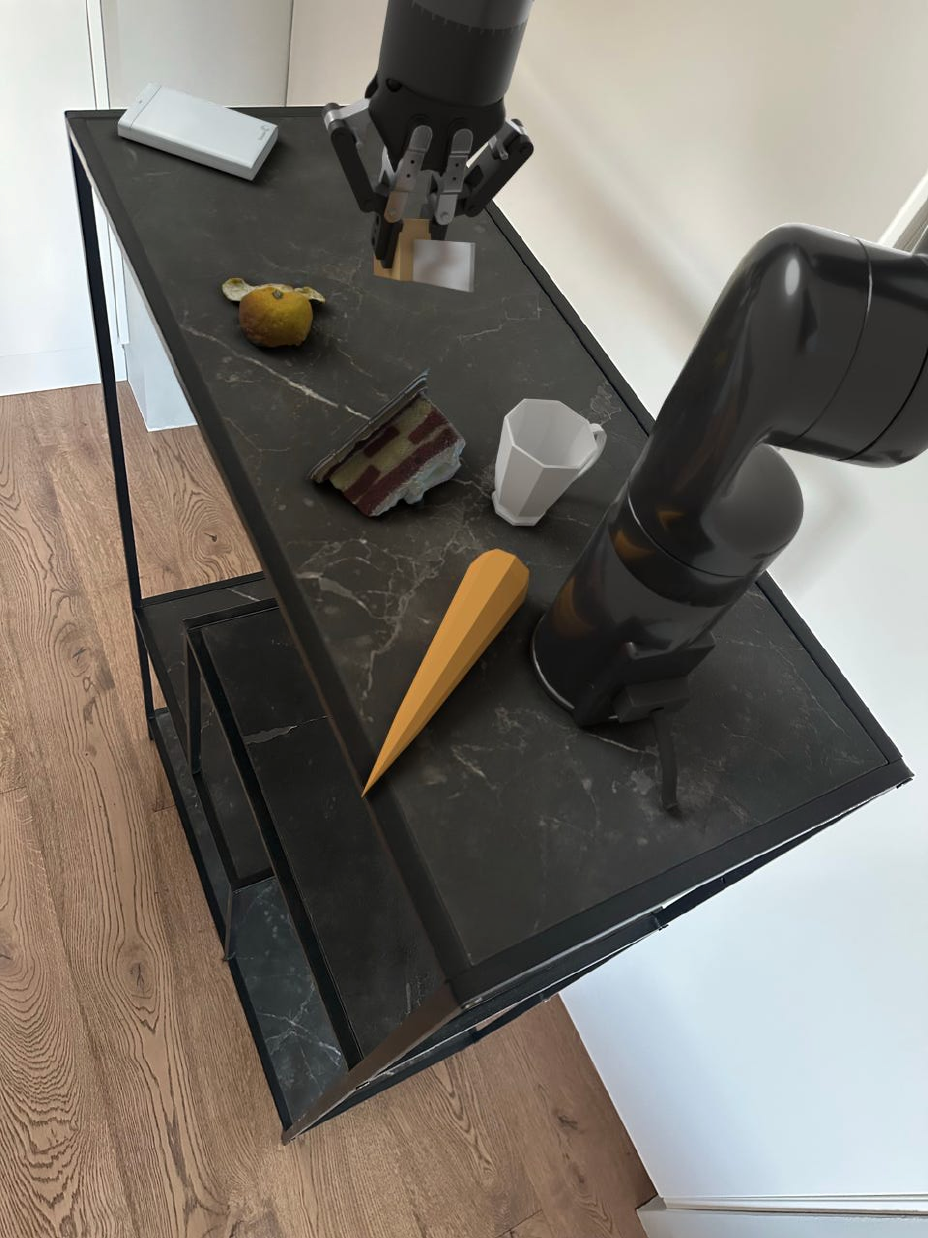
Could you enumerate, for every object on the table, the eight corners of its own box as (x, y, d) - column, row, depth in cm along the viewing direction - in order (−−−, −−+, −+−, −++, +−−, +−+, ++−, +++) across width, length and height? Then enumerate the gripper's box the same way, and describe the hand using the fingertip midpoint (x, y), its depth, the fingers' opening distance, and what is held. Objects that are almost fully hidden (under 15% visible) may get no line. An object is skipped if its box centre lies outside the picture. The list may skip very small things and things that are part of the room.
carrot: (526, 541, 61) (547, 587, 64) (472, 536, 63) (494, 581, 66) (372, 786, 51) (405, 827, 54) (316, 768, 53) (350, 808, 56)
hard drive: (278, 123, 87) (151, 77, 85) (252, 166, 82) (116, 119, 81) (277, 140, 88) (151, 95, 87) (251, 183, 83) (117, 137, 82)
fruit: (321, 292, 77) (326, 255, 74) (328, 359, 73) (334, 323, 70) (221, 281, 75) (222, 243, 72) (223, 350, 71) (224, 312, 68)
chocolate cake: (365, 553, 64) (490, 438, 62) (298, 478, 64) (421, 359, 61) (390, 539, 74) (500, 438, 71) (331, 474, 73) (440, 370, 71)
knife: (373, 275, 65) (373, 217, 63) (402, 276, 65) (403, 218, 64) (453, 291, 51) (455, 218, 50) (488, 292, 52) (491, 219, 50)
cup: (457, 484, 70) (485, 408, 63) (556, 451, 74) (592, 378, 68) (506, 552, 67) (540, 481, 61) (606, 514, 72) (647, 444, 65)
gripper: (557, -35, 52) (479, 229, 66) (321, -72, 47) (291, 221, 61) (602, 37, 48) (510, 299, 62) (352, 4, 43) (313, 297, 58)
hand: (402, 260), depth 62 cm, fingers closed on knife, 2 cm apart
